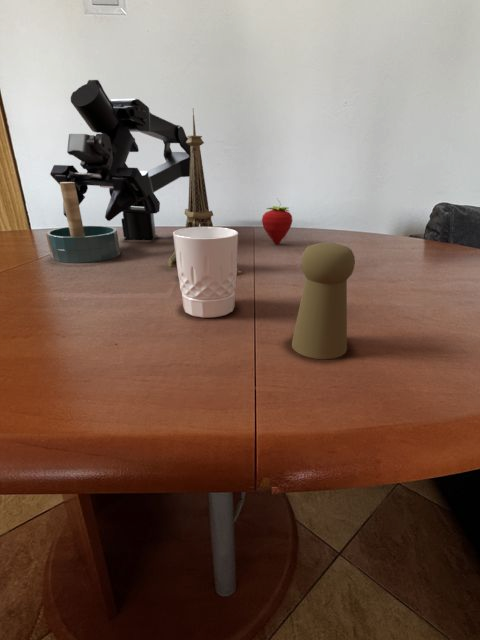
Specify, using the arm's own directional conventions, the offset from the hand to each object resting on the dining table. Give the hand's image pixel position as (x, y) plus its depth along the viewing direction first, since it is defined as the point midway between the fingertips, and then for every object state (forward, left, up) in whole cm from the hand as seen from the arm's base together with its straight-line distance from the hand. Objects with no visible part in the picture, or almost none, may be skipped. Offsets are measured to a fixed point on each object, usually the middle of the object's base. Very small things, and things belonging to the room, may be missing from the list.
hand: (86, 217), depth 71 cm
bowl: (+1, +2, -7) cm, 7 cm away
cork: (-38, +40, -7) cm, 56 cm away
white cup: (-25, +29, -7) cm, 39 cm away
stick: (+1, +3, -7) cm, 7 cm away
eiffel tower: (-22, +10, -7) cm, 25 cm away
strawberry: (-37, -13, -7) cm, 40 cm away
